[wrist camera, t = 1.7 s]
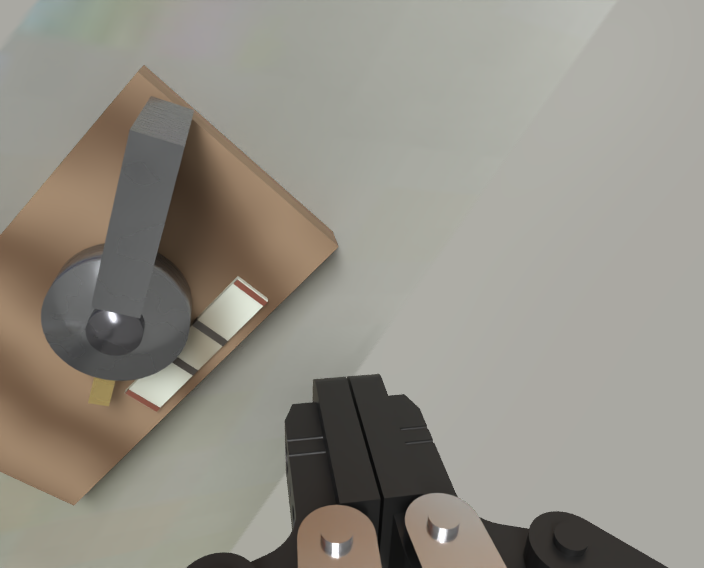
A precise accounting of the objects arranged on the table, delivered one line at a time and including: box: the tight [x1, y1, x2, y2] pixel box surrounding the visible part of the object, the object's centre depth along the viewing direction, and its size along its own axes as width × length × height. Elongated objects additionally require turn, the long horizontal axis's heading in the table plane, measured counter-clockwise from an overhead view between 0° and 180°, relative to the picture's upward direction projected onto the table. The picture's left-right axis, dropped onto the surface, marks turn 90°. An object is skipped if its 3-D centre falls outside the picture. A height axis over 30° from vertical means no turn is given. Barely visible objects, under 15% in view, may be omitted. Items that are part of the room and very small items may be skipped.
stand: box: [0, 65, 338, 505], centre depth 30 cm, size 22×12×2 cm, turn 134°
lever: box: [41, 96, 194, 406], centre depth 25 cm, size 6×16×6 cm, turn 159°
